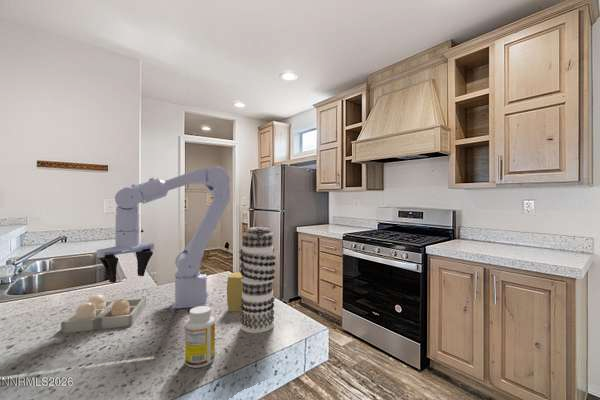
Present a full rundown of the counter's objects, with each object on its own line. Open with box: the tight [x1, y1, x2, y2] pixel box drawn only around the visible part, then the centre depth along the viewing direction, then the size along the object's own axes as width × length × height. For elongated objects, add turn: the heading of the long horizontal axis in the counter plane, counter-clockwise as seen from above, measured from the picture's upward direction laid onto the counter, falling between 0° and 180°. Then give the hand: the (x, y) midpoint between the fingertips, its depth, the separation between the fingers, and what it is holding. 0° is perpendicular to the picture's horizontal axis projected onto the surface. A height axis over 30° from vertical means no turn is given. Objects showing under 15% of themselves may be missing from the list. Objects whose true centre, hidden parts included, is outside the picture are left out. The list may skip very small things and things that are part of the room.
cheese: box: [226, 271, 243, 312], centre depth 85 cm, size 10×11×10 cm
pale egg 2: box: [87, 293, 107, 309], centre depth 76 cm, size 4×4×6 cm
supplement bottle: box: [184, 305, 216, 369], centre depth 55 cm, size 6×6×10 cm
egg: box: [111, 298, 130, 316], centre depth 72 cm, size 4×4×6 cm
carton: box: [60, 297, 147, 334], centre depth 74 cm, size 15×14×3 cm
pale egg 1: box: [75, 301, 96, 320], centre depth 70 cm, size 4×4×6 cm
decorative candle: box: [239, 226, 276, 334], centre depth 71 cm, size 9×9×25 cm
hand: (127, 278), depth 78 cm, fingers open, 7 cm apart
